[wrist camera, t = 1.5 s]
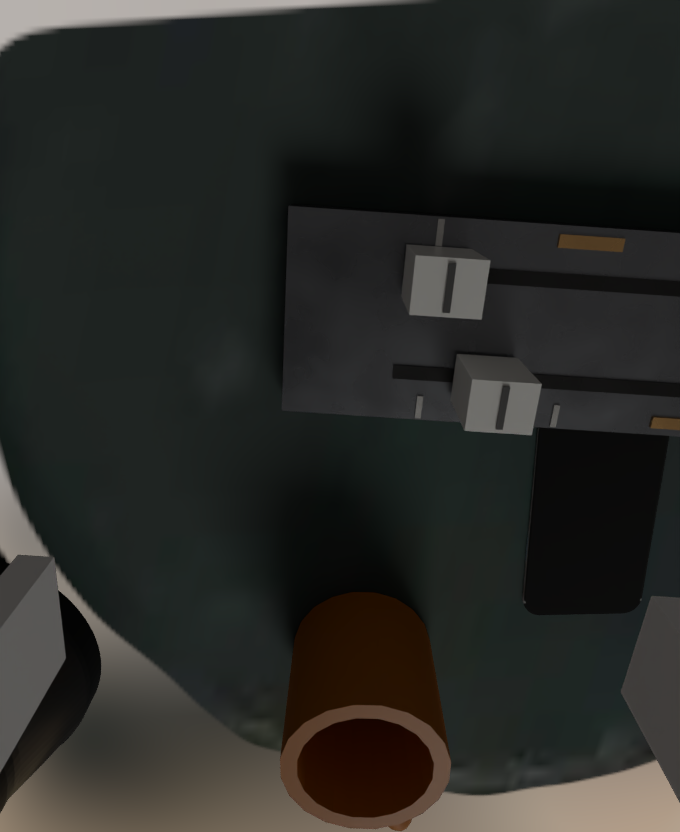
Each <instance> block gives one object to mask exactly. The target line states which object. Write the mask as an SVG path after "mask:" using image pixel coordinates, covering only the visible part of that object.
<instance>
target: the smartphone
mask: <svg viewBox="0 0 680 832" xmlns="http://www.w3.org/2000/svg"><path fill="white" fill-rule="evenodd" d="M668 441H669V436H664V435H649V434H634V433H618V432H603V431H588V430H572V429H557V428H541V427H538V431H537V443H536V454H535V465H534V476H533V488H532V499H531V510H530V521H529V532H528V536H527V545H526V557H525V560H526V566H525V577H524V589H523V603H524V606H525V608H526V609H527V610H528V611H529V612H530V613H532V614H536V615H567V614H613V613H627V612H630V611H632V610H634V609H635V608H636V607H637V606H638V605H639V604H640V602H641V598H642V593H643V587H644V581H645V575H646V569H647V564H648V558H649V552H650V546H651V540H652V534H653V528H654V523H655V517H656V511H657V505H658V499H659V493H660V488H661V482H662V476H663V470H664V464H665V458H666V453H667V447H668Z"/></svg>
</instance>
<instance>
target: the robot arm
mask: <svg viewBox="0 0 680 832" xmlns="http://www.w3.org/2000/svg"><path fill="white" fill-rule="evenodd" d="M100 675H101V658H100V651H99V647H98V644H97V641H96V638H95V636H94V634H93V631H92V630H91V628H90V626H89V624H88V623H87V621H86V619H85V618H84V617H83V616H82V614H81V613H80V611H79V610H78V609H77V608H76V607H75V605H73V603H72V602H71V601H70V600H69V599H68V598H67V597H65V596H64V595H63V594H62V593H61V592H60V591H58V586H57V578H56V568H55V560H54V557H43V556H28V555H18V556H17V557H16V558H15V559H14V560H13V561H12V562H11V564H8V563H5V562H2V561H0V812H1V811H2V809H3V807H4V806H5V804H6V802H7V800H8V799H9V798H10V797H11V796H12V795H13V794H14V793H15V792H16V791H17V790H18V788H19V787H21V785H22V784H23V783H24V782H25V781H26V780H27V779H28V778H29V777H30V776H31V775H32V774H33V773H34V772H35V771H36V770H37V769H38V768H39V767H40V766H41V765H42V764H43V763H44V762H45V761H46V760H47V759H48V758H49V757H50V756H51V755H52V753H53V752H54V751H55V750H56V749H57V748H58V747H59V746H60V745H61V744H63V743H64V742H65V741H66V740H67V739H68V738H69V737H70V736H71V735H72V734H73V732H74V731H75V730H76V728H77V727H78V726H79V724H80V722H81V721H82V719H83V717H84V715H85V713H86V711H87V709H88V707H89V705H90V703H91V701H92V699H93V697H94V695H95V693H96V690H97V688H98V685H99V681H100ZM621 694H622V695H623V697H624V699H625V701H626V703H627V705H628V707H629V708H630V710H631V712H632V714H633V716H634V718H635V720H636V722H637V723H638V725H639V727H640V729H641V731H642V733H643V735H644V737H645V738H646V740H647V742H648V744H649V746H650V748H651V750H652V752H653V753H654V755H655V757H656V759H657V761H658V763H659V764H660V766H661V768H662V770H663V772H664V774H665V776H666V778H667V780H668V781H669V783H670V785H671V787H672V789H673V791H674V793H675V795H676V796H677V798H678V800H679V802H680V598H674V597H659V596H651V599H650V602H649V605H648V608H647V611H646V615H645V618H644V621H643V624H642V627H641V630H640V633H639V637H638V640H637V643H636V646H635V649H634V652H633V655H632V659H631V662H630V665H629V668H628V671H627V674H626V677H625V681H624V684H623V687H622V690H621Z"/></svg>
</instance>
